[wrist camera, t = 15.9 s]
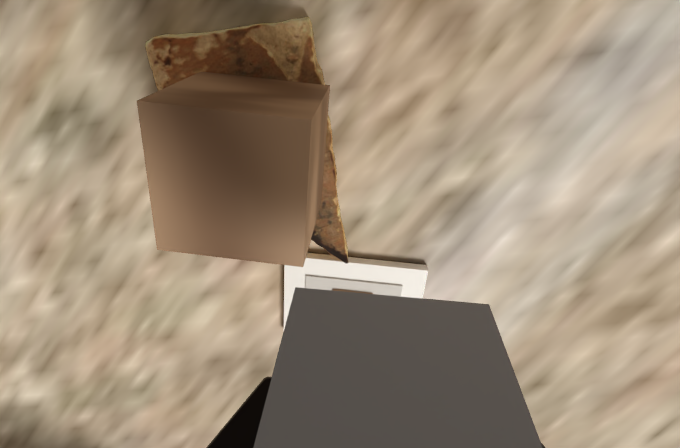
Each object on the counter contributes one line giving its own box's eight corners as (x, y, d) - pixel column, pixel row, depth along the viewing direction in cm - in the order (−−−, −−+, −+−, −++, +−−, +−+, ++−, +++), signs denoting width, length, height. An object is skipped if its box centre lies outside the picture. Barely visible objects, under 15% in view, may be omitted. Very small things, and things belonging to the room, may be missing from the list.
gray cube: (489, 304, 9) (564, 508, 5) (453, 431, 11) (492, 644, 7) (295, 286, 9) (246, 475, 6) (293, 416, 11) (256, 618, 7)
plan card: (427, 265, 21) (428, 274, 21) (411, 343, 24) (412, 355, 23) (286, 250, 22) (283, 259, 21) (285, 329, 24) (282, 340, 23)
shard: (351, 248, 22) (348, 268, 20) (208, 256, 23) (195, 275, 22) (320, 12, 17) (314, 14, 15) (140, 36, 18) (117, 40, 17)
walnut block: (329, 85, 17) (311, 120, 12) (321, 202, 19) (303, 267, 15) (200, 71, 17) (136, 100, 12) (208, 189, 19) (156, 249, 15)
